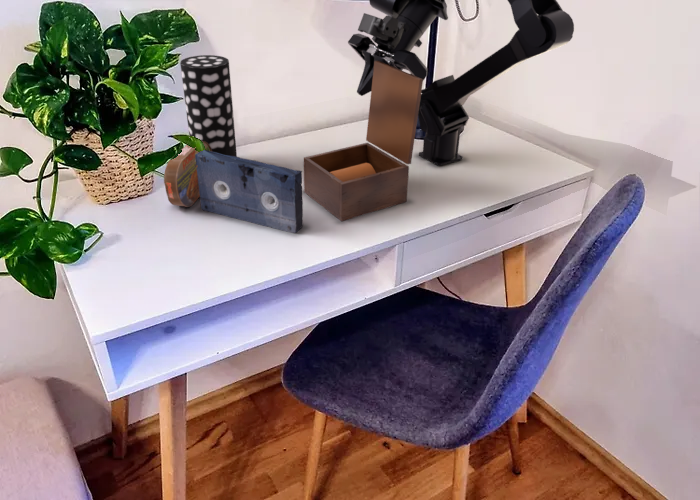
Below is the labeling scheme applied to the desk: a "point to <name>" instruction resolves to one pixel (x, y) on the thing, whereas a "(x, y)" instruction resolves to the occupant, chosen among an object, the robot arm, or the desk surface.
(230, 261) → the desk surface
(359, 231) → the desk surface
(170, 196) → the tin
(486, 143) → the desk surface
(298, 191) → the vhs cassette tape
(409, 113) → the bin lid
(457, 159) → the robot arm
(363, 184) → the bread box
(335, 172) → the bread
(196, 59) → the white-spotted black cylinder
